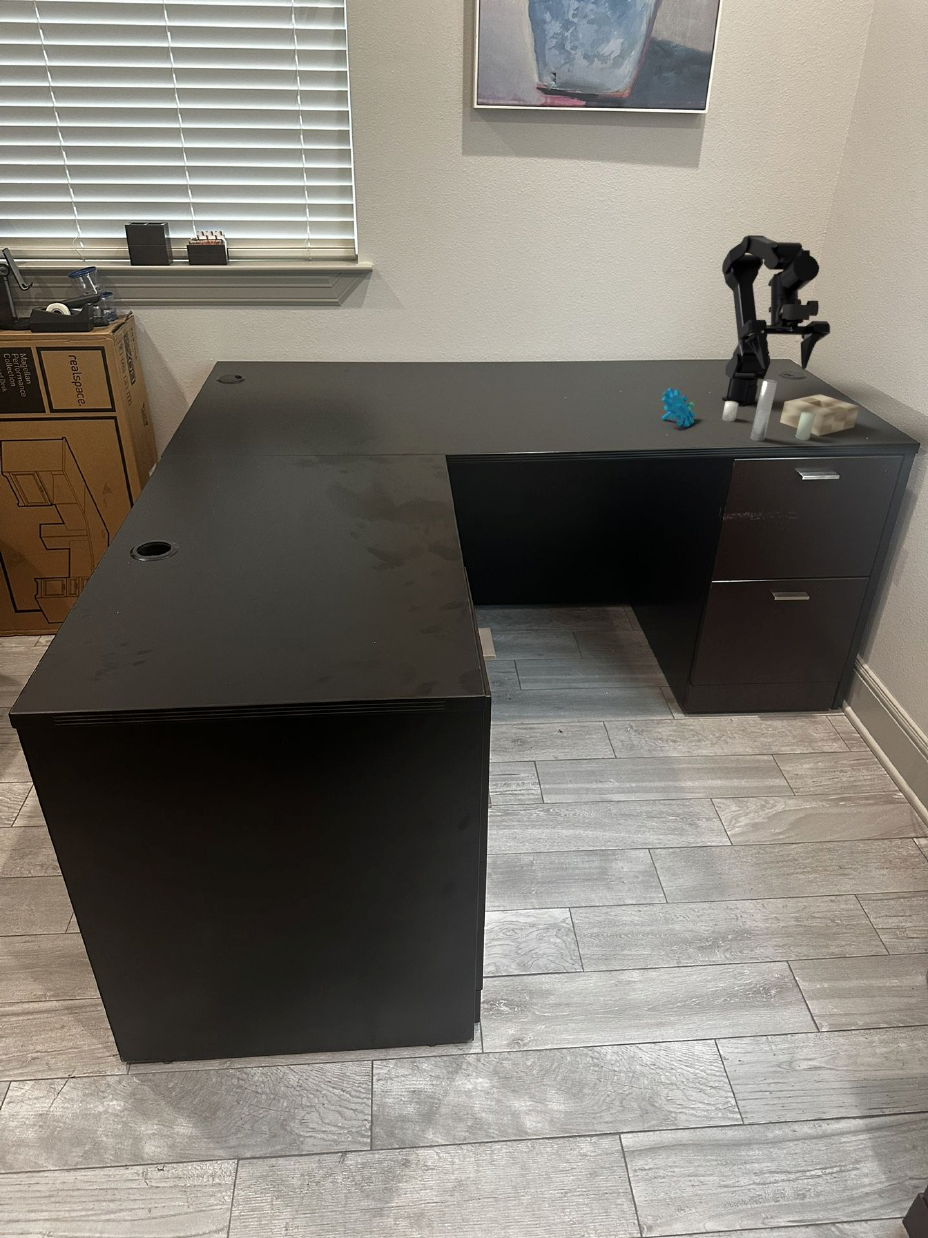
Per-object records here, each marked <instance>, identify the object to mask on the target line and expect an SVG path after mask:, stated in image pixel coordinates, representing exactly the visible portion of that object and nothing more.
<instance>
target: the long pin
mask: <svg viewBox="0 0 928 1238" xmlns="http://www.w3.org/2000/svg"><path fill="white" fill-rule="evenodd" d="M777 385H778V381H777V380H775V379H767V378H766V379H762V383H761V388H760V391H759V392H760V393H759V397H758V401H757V406H756V411H755V415H754V419H753V423H752V430H751V434H750V439H751V440H752V441H755V442H762V441H765V438H766V433H767V430H768V425H769V419H770V415H771V411H772V407H773V402H774V398H775V394H776V389H777Z"/></svg>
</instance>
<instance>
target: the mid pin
mask: <svg viewBox="0 0 928 1238" xmlns="http://www.w3.org/2000/svg"><path fill="white" fill-rule="evenodd" d="M814 419H815V414H813V413H809V412H802V413H801V417H800V421H799V425H798V428H796V434H795V439H798V440H801V441H808V440H810V438H811V434H812V433H811V430H812V426H813V422H814Z"/></svg>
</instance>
